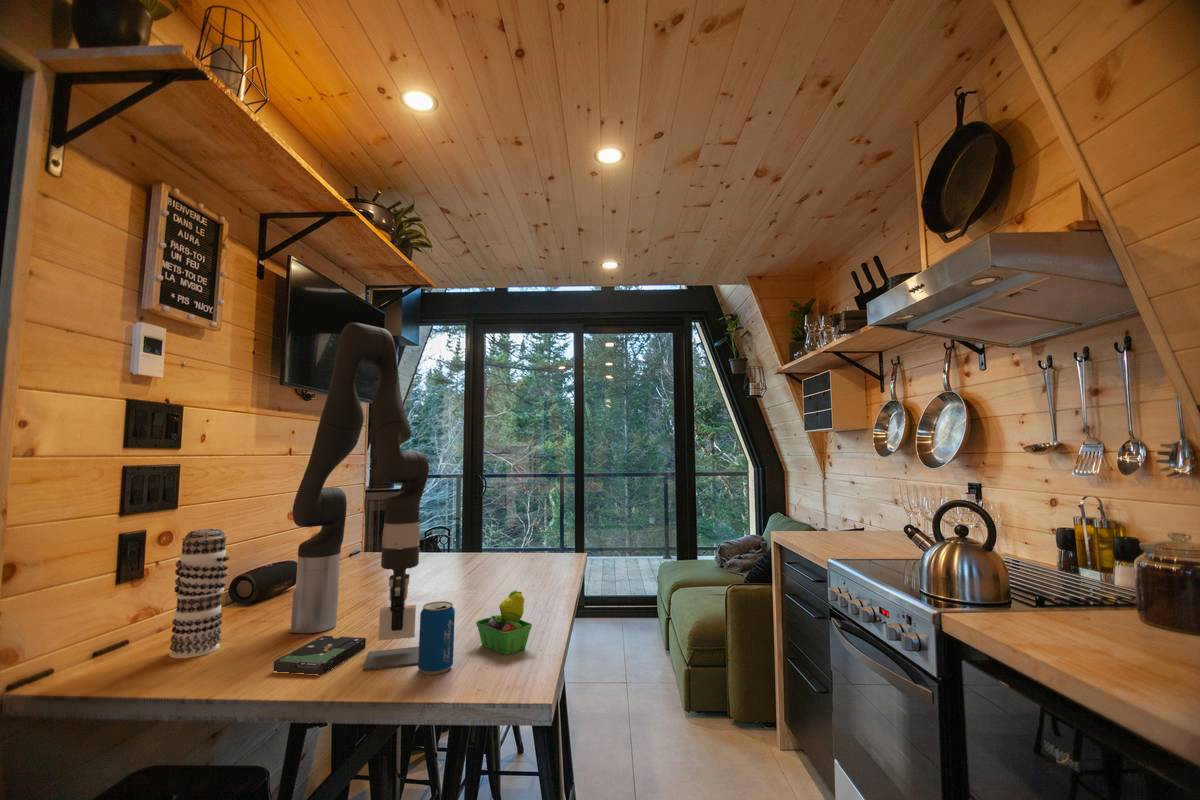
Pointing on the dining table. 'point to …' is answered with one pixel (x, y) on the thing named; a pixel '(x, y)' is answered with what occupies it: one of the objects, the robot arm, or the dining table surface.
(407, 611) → the tile
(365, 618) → the dining table surface
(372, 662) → the mat
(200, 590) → the decorative candle
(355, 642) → the disk drive
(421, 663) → the beverage can
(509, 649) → the fruit basket
